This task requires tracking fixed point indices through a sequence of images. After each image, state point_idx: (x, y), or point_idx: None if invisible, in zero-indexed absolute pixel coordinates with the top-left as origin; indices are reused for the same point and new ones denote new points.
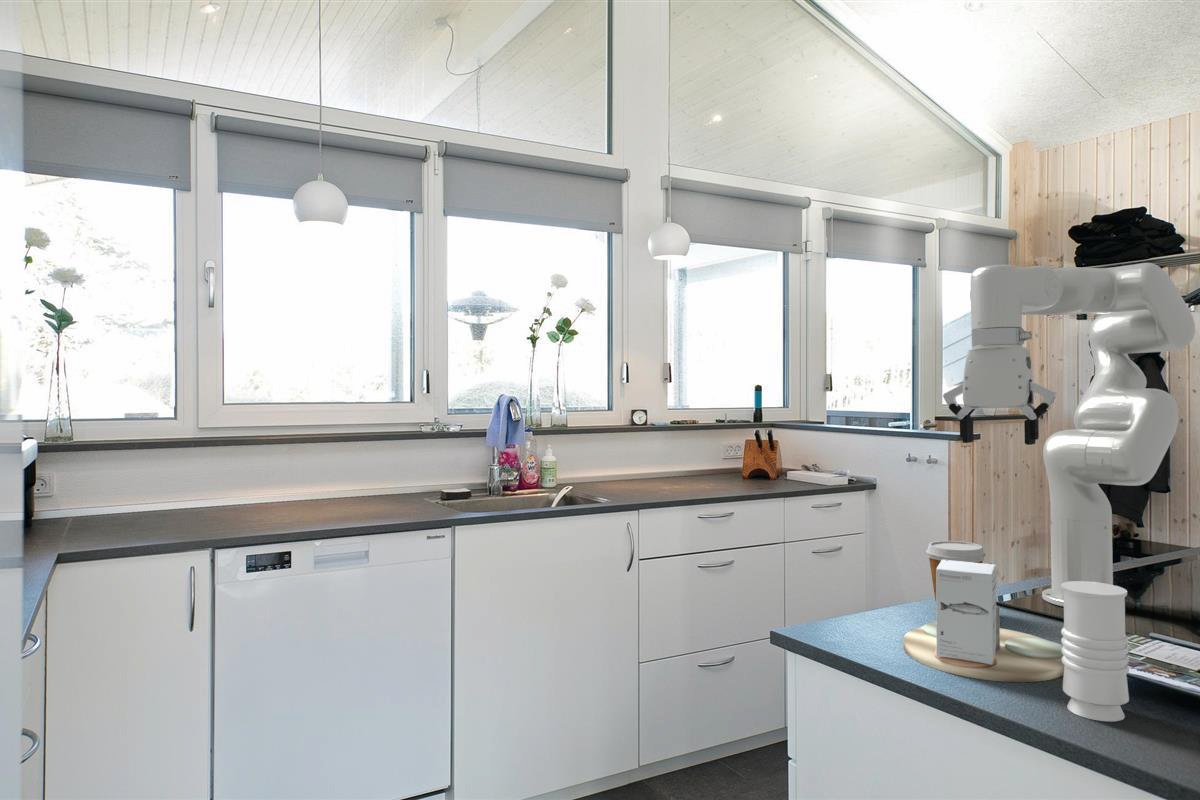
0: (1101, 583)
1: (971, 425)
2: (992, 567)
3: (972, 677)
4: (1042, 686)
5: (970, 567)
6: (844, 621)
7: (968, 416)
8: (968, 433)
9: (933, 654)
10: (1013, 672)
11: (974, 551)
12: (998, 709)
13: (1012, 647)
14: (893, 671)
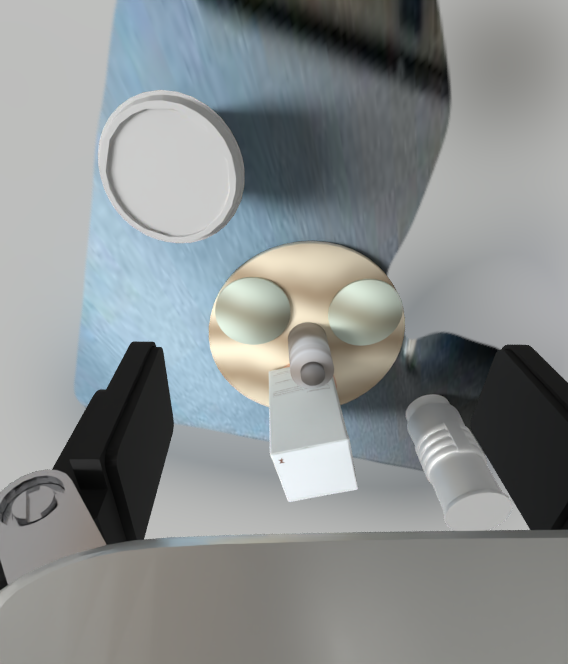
0: (489, 494)
1: (136, 447)
2: (349, 460)
3: None
4: (381, 385)
5: (325, 480)
6: (98, 317)
7: (108, 541)
8: (159, 447)
9: None
10: (356, 395)
11: (231, 208)
12: (356, 449)
13: (341, 336)
14: (250, 430)
